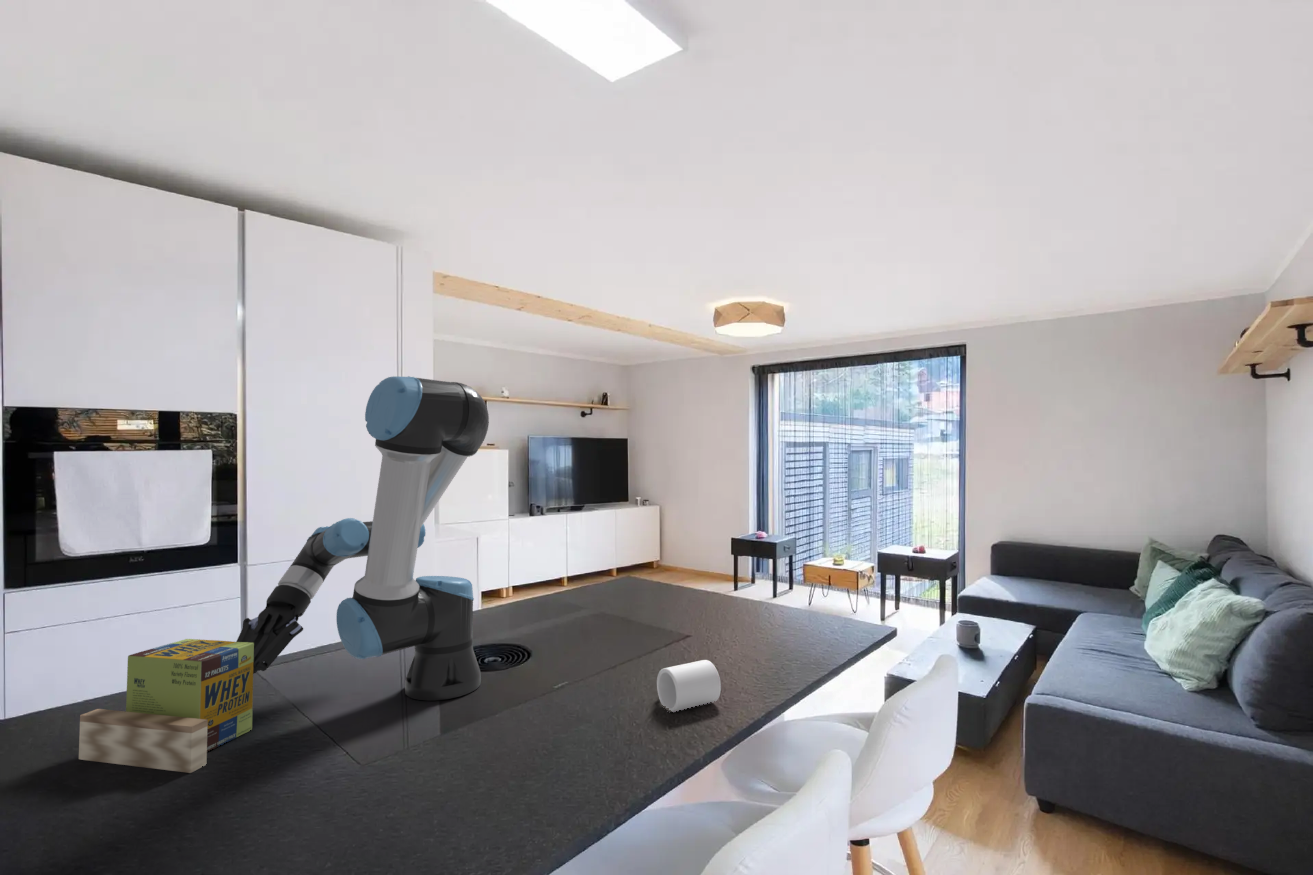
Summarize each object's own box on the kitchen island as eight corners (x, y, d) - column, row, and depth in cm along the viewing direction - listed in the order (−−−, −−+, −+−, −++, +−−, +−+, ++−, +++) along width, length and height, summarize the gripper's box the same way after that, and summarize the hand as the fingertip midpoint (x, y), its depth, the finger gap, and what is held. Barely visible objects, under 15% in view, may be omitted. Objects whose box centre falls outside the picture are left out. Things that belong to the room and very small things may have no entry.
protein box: (199, 757, 98) (201, 660, 98) (122, 749, 101) (125, 655, 101) (254, 729, 108) (256, 641, 109) (183, 722, 111) (185, 637, 112)
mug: (721, 707, 117) (721, 666, 117) (678, 719, 112) (677, 675, 112) (687, 687, 127) (687, 649, 128) (646, 697, 122) (646, 657, 122)
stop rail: (206, 764, 96) (207, 719, 96) (190, 772, 93) (191, 726, 93) (96, 751, 100) (97, 708, 100) (78, 759, 97) (80, 715, 98)
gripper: (330, 603, 129) (262, 716, 112) (278, 601, 132) (205, 710, 115) (311, 584, 124) (237, 698, 107) (258, 581, 127) (178, 692, 110)
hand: (220, 704), depth 111 cm, fingers closed
